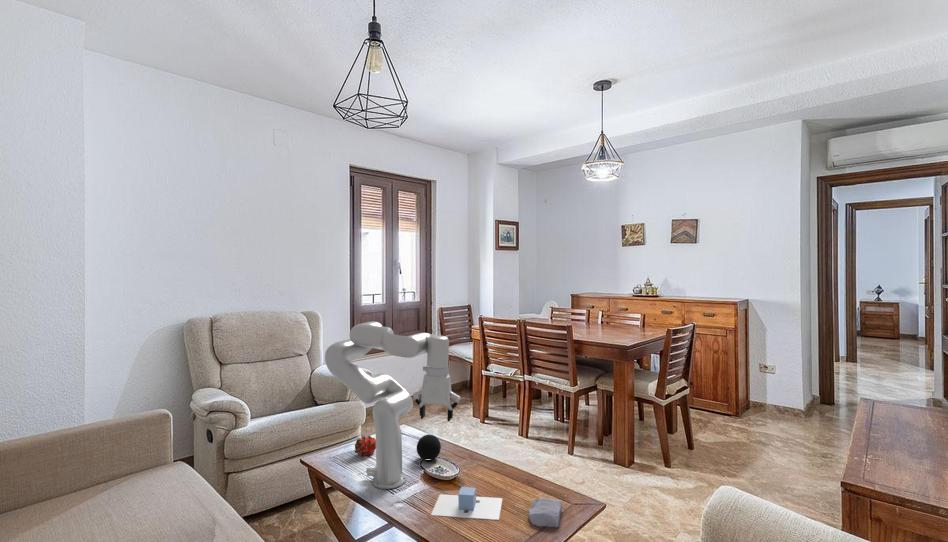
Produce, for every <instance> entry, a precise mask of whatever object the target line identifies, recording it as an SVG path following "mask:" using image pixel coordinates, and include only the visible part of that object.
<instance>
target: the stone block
mask: <svg viewBox="0 0 948 542" xmlns="http://www.w3.org/2000/svg"><path fill="white" fill-rule="evenodd" d="M562 508H563V506H562V500H558V499H554V498H551V497H539V498H536V499H534V500H533V502H532V503H531V505H530V507H529V510H528V517H529V521H530V523H531V525H535V526H538V527H548V528H556V529H557V528H558V527H559V525H560V519H561V516H562V515H561V514H562Z"/></svg>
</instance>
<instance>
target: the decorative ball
mask: <svg viewBox="0 0 948 542" xmlns="http://www.w3.org/2000/svg"><path fill="white" fill-rule="evenodd" d="M441 449H442V445H441V442H440V440H439V438H438V437H437V436H435V435H433V434H424V435H423V436H421V437H420V438H419V440H418V441H417V444H416V452H417V454H418V456H419V457H420V459H422V460H424V461H426V460H425V459H433V460H435V459H437V457H438V456H439V455H440V453H441Z"/></svg>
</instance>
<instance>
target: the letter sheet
mask: <svg viewBox="0 0 948 542" xmlns="http://www.w3.org/2000/svg"><path fill="white" fill-rule="evenodd" d="M502 504H503V497H491V496H490V497H489V496H476V504H475V508H474V511H472V510H459V502H458V494H455V495H454V494H442V493H441V494H439V495H438V497H437V499H436V502H435V504H434V507H433V509H432V511H431V513H430V516H431V517H432V516H433V517H434V516H435V517H449V518H461V519H477V520H491V521H492V520H493V521H500V517H501V510H502Z"/></svg>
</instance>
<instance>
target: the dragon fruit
mask: <svg viewBox="0 0 948 542" xmlns="http://www.w3.org/2000/svg"><path fill="white" fill-rule="evenodd" d="M354 449H355V450H354V453H356V454H357V456H360V457H362V458H363V457H365V456H372V454H374V453H375V451H376V437H372V436H371V435H367V437H366V436H365V435H364V436H362V437H361V438H358V439H357V440H356V441H355V444H354Z"/></svg>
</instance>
